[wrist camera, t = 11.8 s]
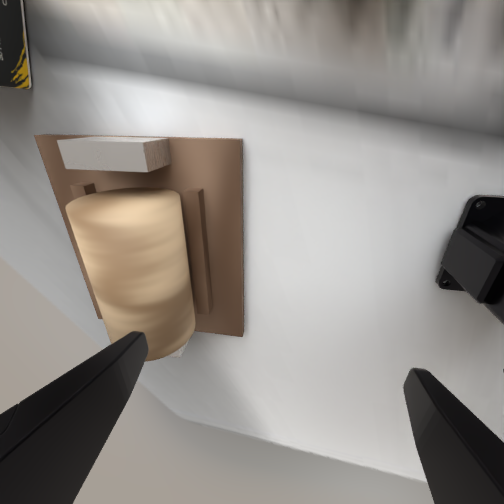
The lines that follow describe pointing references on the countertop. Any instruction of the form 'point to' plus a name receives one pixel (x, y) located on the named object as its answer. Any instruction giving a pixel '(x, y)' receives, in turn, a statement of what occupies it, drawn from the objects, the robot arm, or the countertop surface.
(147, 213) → the paper roll
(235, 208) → the holder stand
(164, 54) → the countertop surface
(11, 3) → the medicine bottle
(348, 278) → the countertop surface
